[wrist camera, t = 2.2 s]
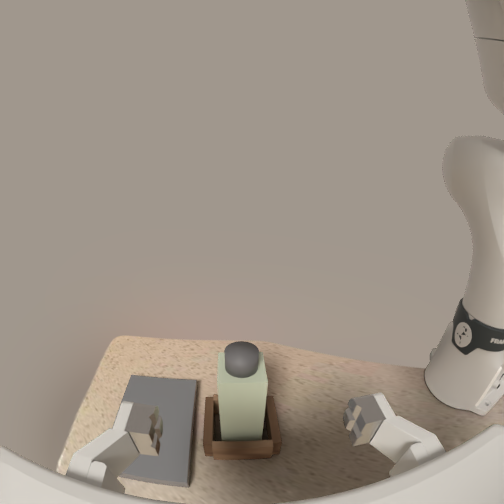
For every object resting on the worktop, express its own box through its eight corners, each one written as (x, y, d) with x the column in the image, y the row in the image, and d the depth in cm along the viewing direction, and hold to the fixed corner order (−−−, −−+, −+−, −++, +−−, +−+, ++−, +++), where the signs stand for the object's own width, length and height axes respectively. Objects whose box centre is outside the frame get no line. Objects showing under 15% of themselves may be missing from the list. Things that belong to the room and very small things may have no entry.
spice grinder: (257, 418, 31) (263, 336, 27) (260, 445, 27) (269, 366, 23) (222, 419, 31) (217, 337, 26) (222, 446, 27) (216, 367, 22)
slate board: (197, 386, 36) (196, 379, 36) (189, 487, 20) (186, 482, 20) (133, 381, 36) (131, 374, 35) (104, 472, 20) (100, 467, 19)
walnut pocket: (270, 406, 33) (272, 393, 32) (279, 457, 25) (282, 445, 24) (207, 408, 33) (205, 394, 32) (205, 459, 24) (202, 447, 24)
